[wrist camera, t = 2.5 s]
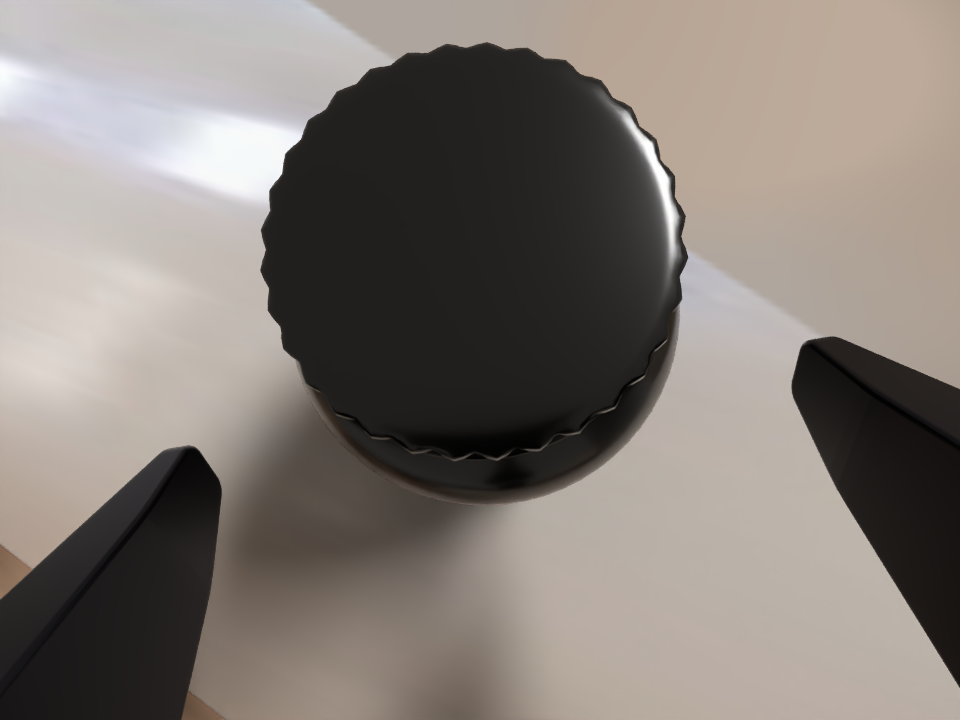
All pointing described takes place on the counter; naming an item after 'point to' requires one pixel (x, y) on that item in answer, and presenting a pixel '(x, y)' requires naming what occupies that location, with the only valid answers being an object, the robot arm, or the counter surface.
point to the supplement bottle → (477, 272)
